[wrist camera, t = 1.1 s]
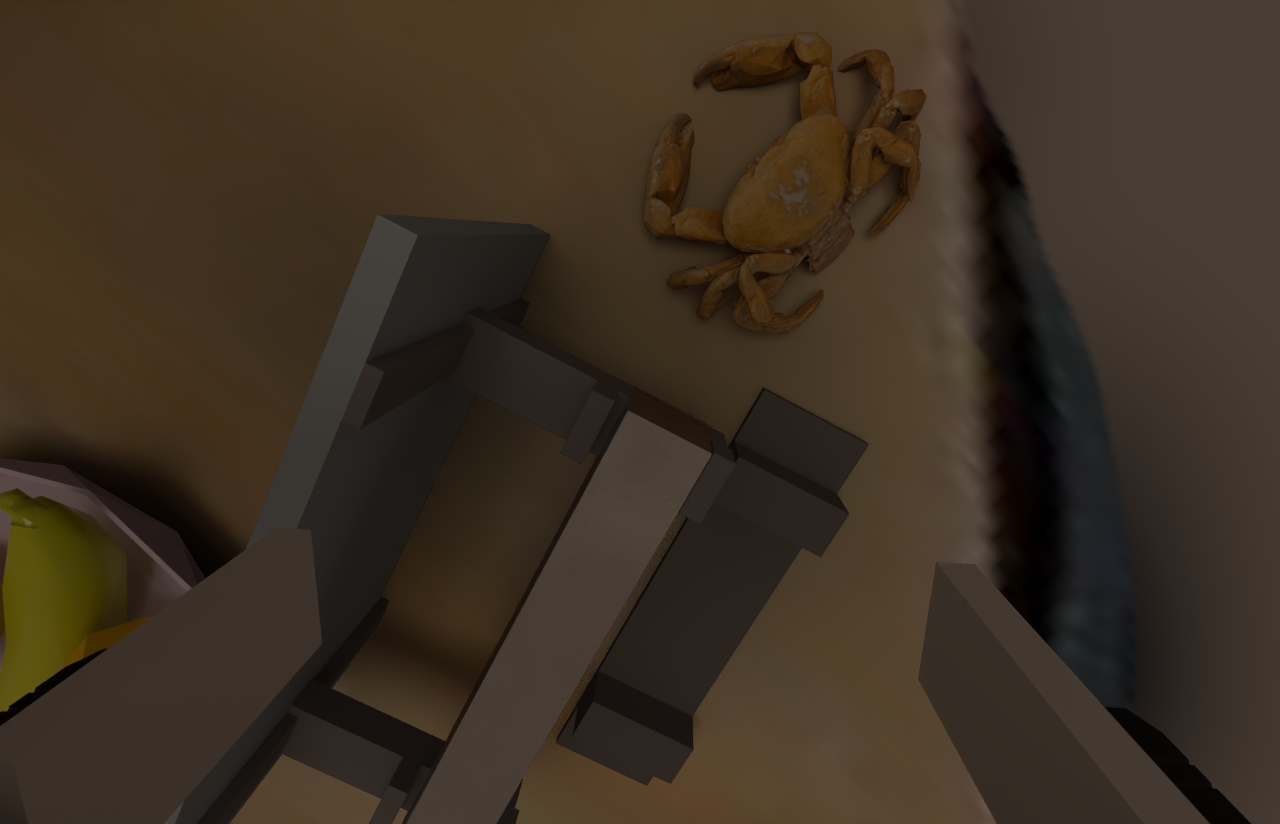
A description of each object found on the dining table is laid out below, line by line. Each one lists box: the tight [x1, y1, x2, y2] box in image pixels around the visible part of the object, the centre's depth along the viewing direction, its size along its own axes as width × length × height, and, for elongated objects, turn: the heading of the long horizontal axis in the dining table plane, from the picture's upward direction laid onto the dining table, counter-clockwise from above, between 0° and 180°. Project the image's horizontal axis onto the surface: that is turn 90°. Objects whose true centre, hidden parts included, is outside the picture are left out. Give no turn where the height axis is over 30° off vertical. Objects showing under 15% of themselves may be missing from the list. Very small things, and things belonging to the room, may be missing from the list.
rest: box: [556, 388, 869, 786], centre depth 41 cm, size 7×28×4 cm, turn 153°
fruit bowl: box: [0, 458, 206, 712], centre depth 40 cm, size 28×27×11 cm
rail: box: [402, 387, 712, 824], centre depth 30 cm, size 4×26×4 cm, turn 152°
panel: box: [164, 214, 736, 824], centre depth 32 cm, size 14×32×20 cm, turn 152°
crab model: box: [643, 32, 926, 334], centre depth 34 cm, size 16×13×6 cm
